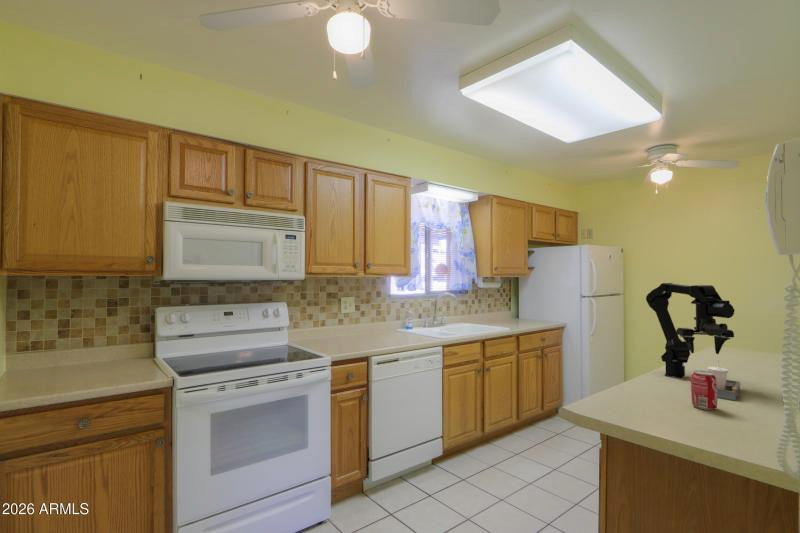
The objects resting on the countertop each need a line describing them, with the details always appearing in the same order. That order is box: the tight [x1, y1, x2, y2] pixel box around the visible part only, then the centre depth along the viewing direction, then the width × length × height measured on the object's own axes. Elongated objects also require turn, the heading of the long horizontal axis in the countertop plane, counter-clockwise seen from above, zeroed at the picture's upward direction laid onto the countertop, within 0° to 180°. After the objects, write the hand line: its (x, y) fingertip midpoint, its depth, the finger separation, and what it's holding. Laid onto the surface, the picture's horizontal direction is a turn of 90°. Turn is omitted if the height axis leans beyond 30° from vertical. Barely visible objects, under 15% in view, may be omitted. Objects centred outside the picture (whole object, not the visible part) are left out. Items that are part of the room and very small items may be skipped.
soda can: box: [690, 369, 718, 411], centre depth 135 cm, size 7×7×12 cm
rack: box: [717, 379, 741, 402], centre depth 154 cm, size 11×20×3 cm, turn 136°
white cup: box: [706, 357, 729, 390], centre depth 151 cm, size 6×6×14 cm
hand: (704, 353), depth 163 cm, fingers open, 9 cm apart
